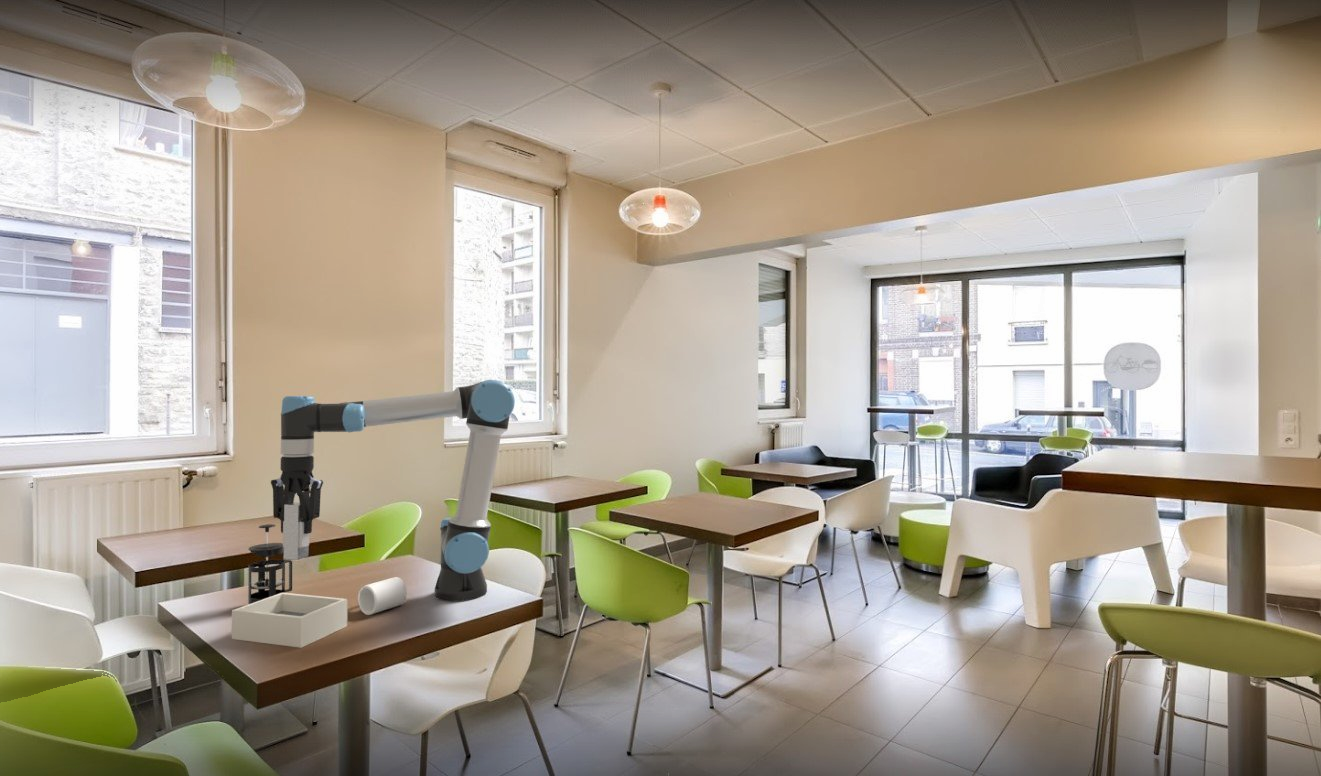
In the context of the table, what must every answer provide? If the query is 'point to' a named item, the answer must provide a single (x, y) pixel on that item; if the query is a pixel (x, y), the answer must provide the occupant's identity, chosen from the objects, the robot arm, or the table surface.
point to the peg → (293, 532)
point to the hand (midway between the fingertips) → (296, 545)
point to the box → (289, 619)
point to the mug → (382, 595)
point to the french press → (267, 570)
